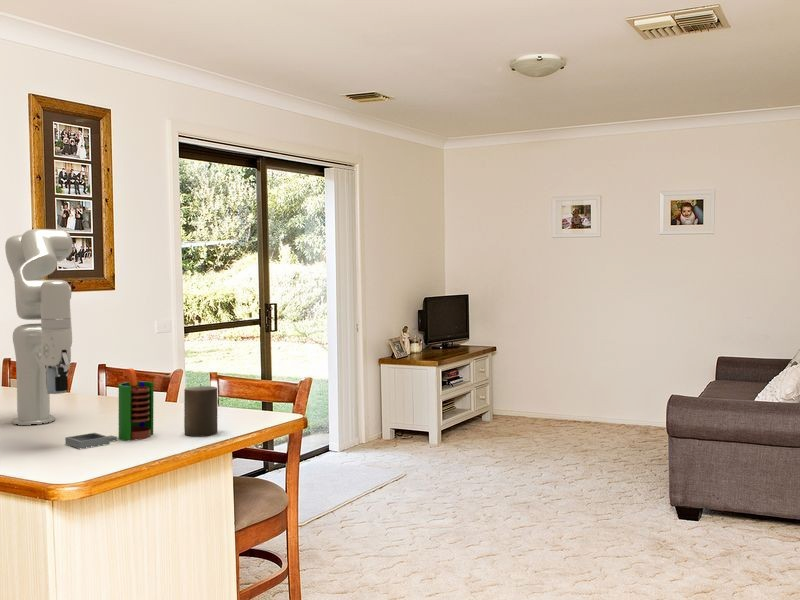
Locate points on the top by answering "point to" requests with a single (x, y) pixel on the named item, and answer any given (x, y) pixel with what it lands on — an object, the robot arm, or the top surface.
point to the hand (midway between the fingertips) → (57, 389)
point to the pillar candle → (200, 411)
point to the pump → (52, 381)
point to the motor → (135, 408)
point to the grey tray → (88, 440)
